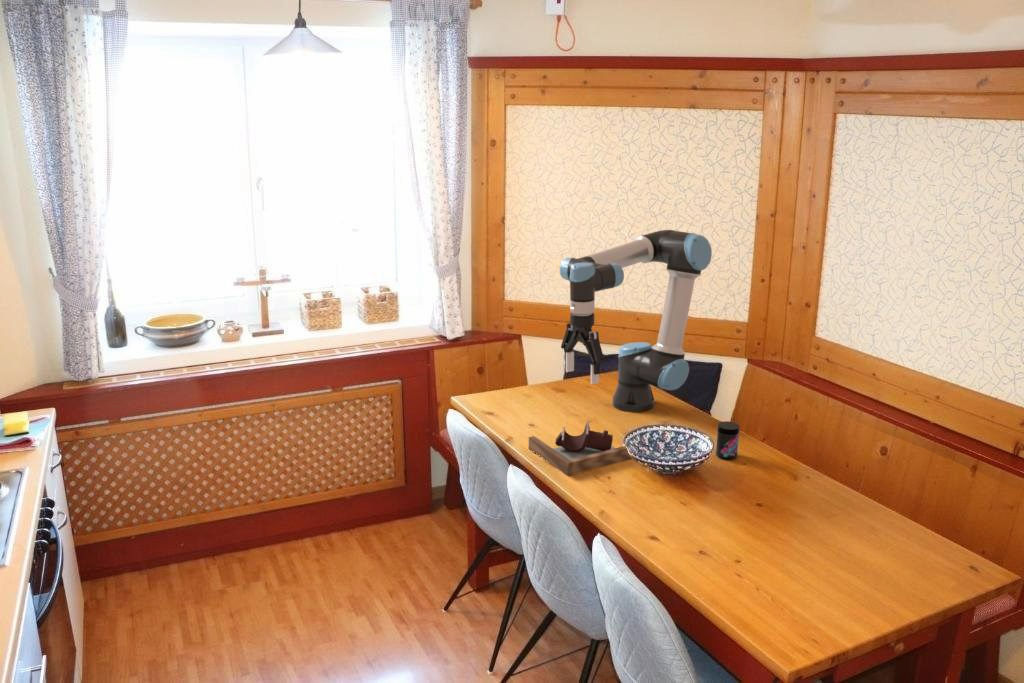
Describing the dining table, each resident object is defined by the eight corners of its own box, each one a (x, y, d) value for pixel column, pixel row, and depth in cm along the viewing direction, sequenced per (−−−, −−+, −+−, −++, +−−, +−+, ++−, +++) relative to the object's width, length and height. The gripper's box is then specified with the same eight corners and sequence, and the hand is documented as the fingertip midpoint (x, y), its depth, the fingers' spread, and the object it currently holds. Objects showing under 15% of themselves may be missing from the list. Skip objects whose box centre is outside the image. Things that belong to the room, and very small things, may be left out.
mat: (598, 438, 285) (598, 437, 285) (617, 450, 276) (617, 449, 276) (546, 451, 275) (546, 450, 275) (565, 463, 266) (565, 462, 266)
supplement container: (714, 459, 269) (716, 428, 266) (716, 450, 275) (718, 420, 272) (737, 461, 267) (739, 430, 264) (737, 453, 273) (740, 422, 270)
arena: (590, 434, 289) (590, 423, 287) (632, 459, 269) (632, 447, 268) (528, 448, 277) (528, 437, 276) (567, 475, 258) (567, 463, 257)
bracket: (555, 436, 279) (562, 414, 272) (607, 447, 279) (614, 425, 273) (554, 450, 274) (560, 428, 268) (606, 461, 274) (614, 439, 268)
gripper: (550, 306, 276) (550, 368, 283) (596, 324, 256) (595, 390, 262) (569, 302, 280) (569, 364, 286) (616, 319, 260) (615, 386, 266)
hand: (582, 377), depth 274 cm, fingers open, 13 cm apart
